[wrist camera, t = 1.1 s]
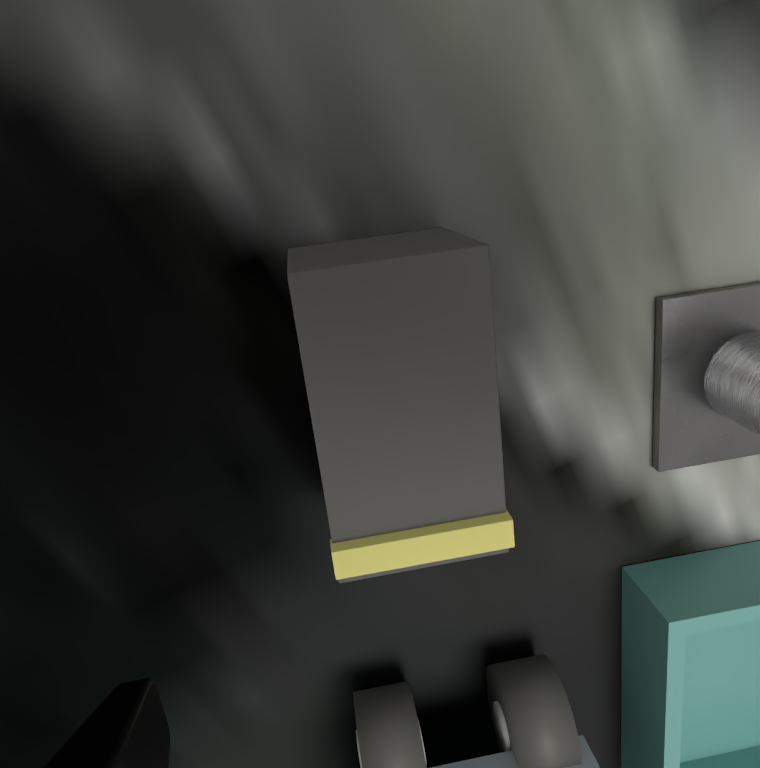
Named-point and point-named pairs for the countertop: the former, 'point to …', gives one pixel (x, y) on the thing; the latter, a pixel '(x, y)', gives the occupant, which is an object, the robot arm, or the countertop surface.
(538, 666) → the trolley
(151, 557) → the countertop surface
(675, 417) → the pin plate
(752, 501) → the countertop surface
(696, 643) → the tray
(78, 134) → the countertop surface
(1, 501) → the countertop surface
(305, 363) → the block
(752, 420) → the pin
